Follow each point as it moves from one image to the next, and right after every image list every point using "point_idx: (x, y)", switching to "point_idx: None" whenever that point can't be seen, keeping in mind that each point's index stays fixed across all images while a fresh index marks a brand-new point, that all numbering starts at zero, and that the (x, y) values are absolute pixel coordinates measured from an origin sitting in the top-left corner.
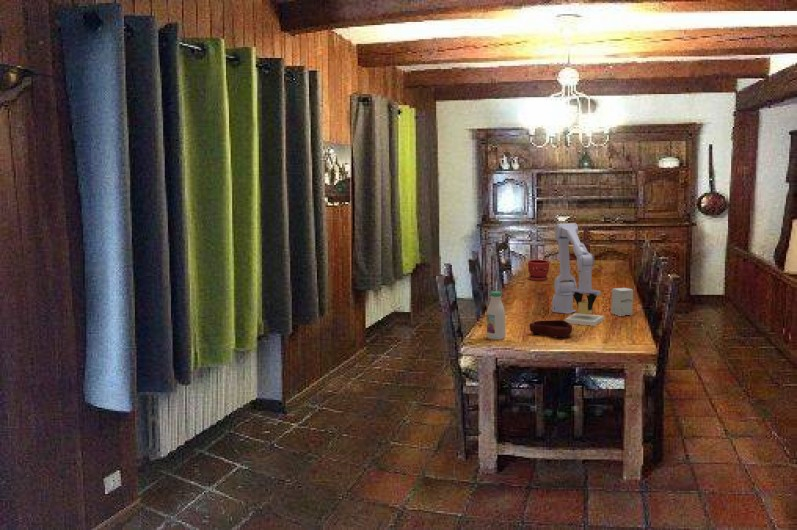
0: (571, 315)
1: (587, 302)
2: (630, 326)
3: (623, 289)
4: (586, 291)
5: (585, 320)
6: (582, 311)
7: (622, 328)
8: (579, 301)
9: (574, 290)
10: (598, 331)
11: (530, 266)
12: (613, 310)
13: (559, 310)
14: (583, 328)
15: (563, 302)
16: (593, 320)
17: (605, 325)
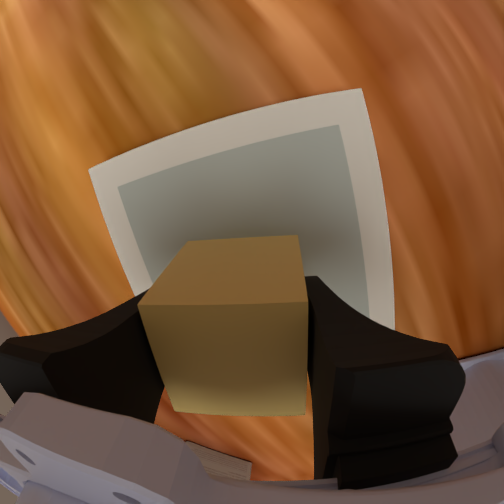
0: (388, 260)
1: (192, 368)
2: (18, 294)
3: None
4: (12, 456)
5: (168, 154)
6: (241, 247)
7: (6, 231)
8: (314, 348)
9: (472, 486)
10: (33, 70)
11: None
12: (232, 472)
13: (495, 363)
14: (128, 47)
15: (498, 404)
16: (122, 203)
17: (82, 235)
